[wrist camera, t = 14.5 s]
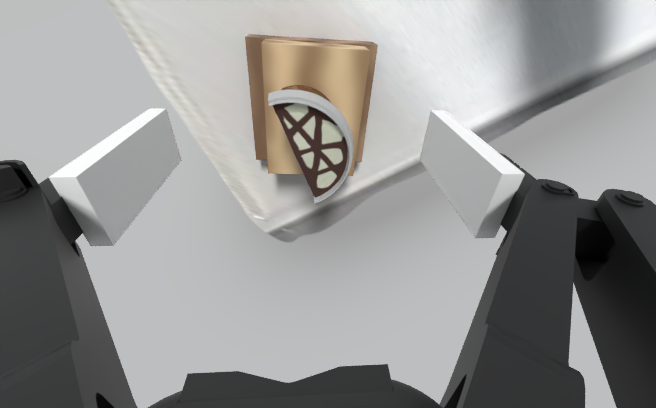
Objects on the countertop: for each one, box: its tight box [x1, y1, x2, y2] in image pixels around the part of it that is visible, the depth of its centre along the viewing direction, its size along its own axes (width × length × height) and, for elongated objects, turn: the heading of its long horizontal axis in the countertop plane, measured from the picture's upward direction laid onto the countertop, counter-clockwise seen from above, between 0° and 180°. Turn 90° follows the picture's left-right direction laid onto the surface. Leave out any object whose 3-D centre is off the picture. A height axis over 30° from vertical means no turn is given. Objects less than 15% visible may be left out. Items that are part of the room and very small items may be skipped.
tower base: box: [245, 34, 378, 162], centre depth 41 cm, size 16×16×4 cm
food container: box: [268, 85, 354, 204], centre depth 32 cm, size 12×6×10 cm, turn 19°
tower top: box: [261, 39, 370, 176], centre depth 38 cm, size 12×16×4 cm
